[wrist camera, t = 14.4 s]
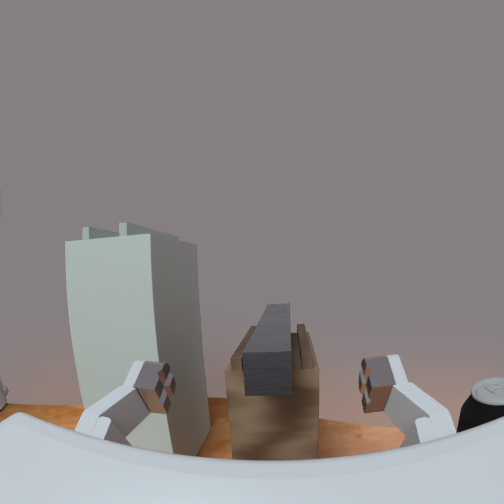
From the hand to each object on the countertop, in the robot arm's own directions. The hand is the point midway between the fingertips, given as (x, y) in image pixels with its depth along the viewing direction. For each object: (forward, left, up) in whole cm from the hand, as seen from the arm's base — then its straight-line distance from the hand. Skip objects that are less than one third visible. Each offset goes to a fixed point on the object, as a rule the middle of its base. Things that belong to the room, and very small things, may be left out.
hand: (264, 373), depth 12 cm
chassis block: (0, +16, -18) cm, 24 cm away
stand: (-15, +19, -18) cm, 31 cm away
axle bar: (0, +17, -3) cm, 17 cm away
